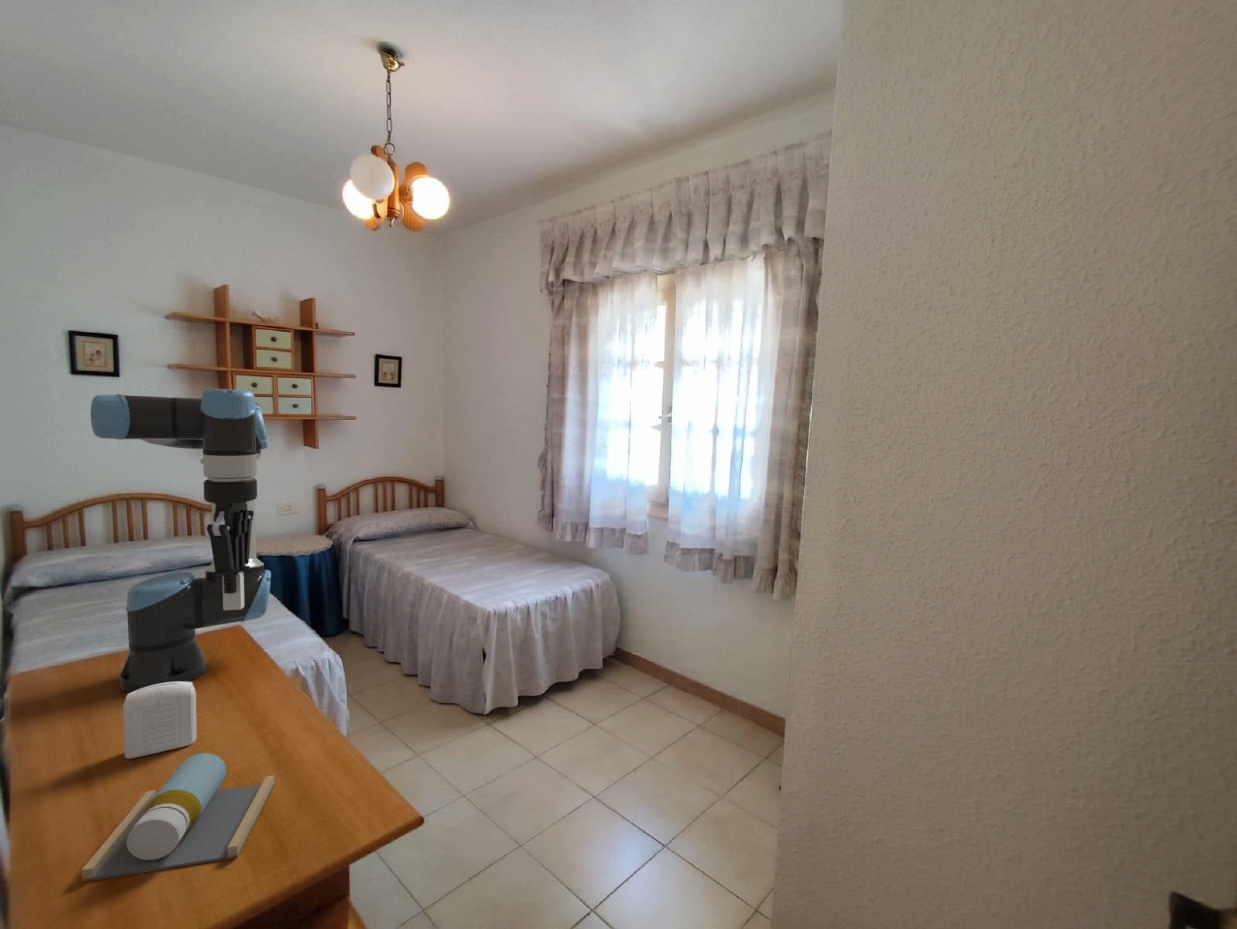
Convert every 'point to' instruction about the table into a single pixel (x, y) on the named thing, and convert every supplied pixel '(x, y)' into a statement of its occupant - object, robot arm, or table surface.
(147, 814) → the bottle
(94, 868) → the grey tray
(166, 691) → the photo printer
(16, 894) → the table surface
